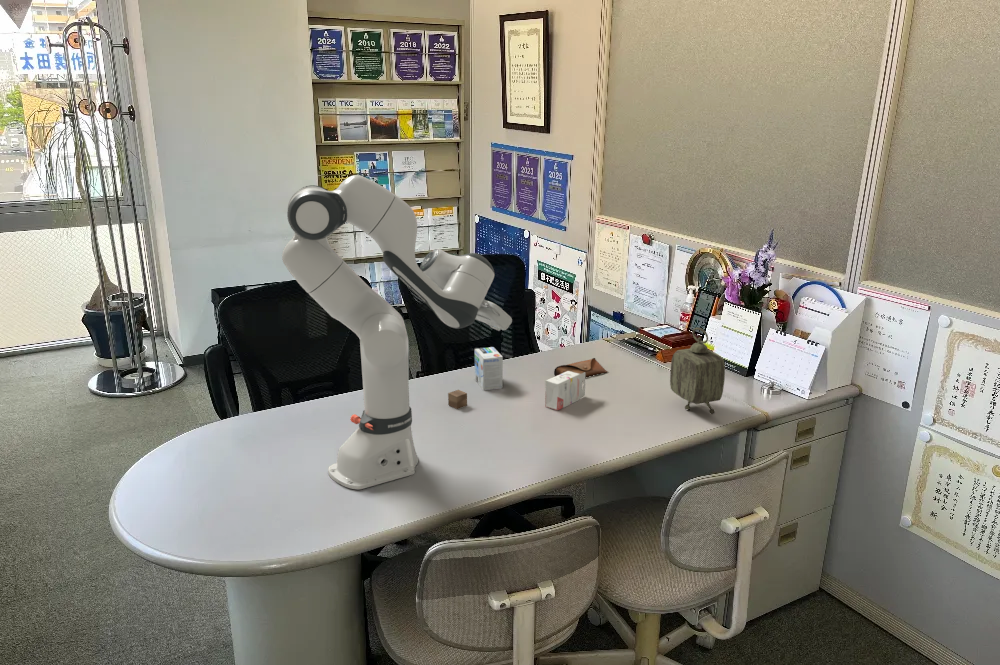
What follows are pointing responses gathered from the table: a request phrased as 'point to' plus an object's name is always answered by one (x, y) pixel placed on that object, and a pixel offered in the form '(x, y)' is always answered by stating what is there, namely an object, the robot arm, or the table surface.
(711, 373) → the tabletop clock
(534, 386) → the table surface
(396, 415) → the robot arm
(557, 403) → the ink cartridge box
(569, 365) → the sunglasses case
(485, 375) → the light bulb box
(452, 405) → the walnut block
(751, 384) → the table surface
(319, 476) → the table surface
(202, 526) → the table surface
